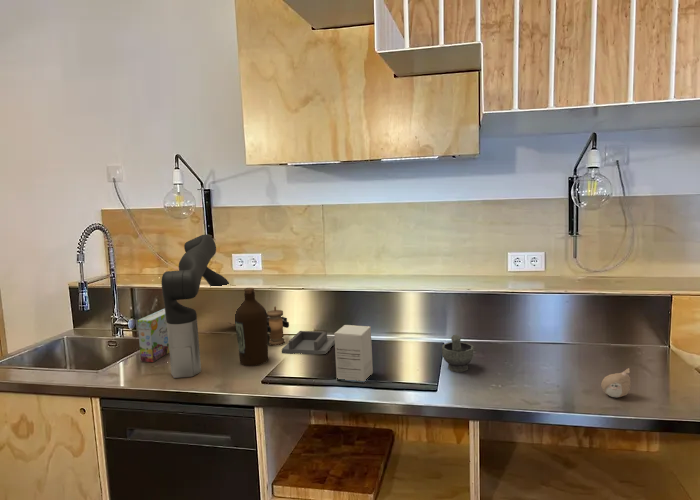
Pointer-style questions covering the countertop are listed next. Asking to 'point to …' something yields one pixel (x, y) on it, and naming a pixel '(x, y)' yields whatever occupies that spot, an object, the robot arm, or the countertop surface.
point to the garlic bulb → (617, 384)
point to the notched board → (309, 343)
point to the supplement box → (353, 352)
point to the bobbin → (276, 327)
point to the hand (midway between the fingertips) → (279, 327)
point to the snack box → (153, 336)
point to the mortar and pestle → (457, 354)
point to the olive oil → (251, 330)
